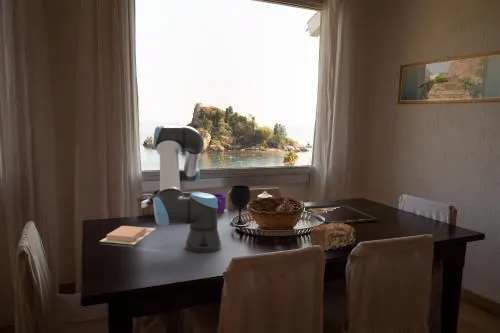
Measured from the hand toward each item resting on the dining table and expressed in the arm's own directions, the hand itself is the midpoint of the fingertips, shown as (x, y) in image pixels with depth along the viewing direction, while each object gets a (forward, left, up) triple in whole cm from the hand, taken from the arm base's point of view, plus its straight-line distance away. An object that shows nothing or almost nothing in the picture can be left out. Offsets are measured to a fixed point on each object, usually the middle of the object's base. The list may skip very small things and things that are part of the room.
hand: (142, 204), depth 188 cm
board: (-7, +13, -12) cm, 19 cm away
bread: (-82, -42, -12) cm, 93 cm away
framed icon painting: (-59, -93, -13) cm, 111 cm away
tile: (-5, +9, -9) cm, 14 cm away
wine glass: (-30, -38, -12) cm, 50 cm away
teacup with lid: (-21, -71, -12) cm, 75 cm away
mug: (-6, -46, -12) cm, 48 cm away
